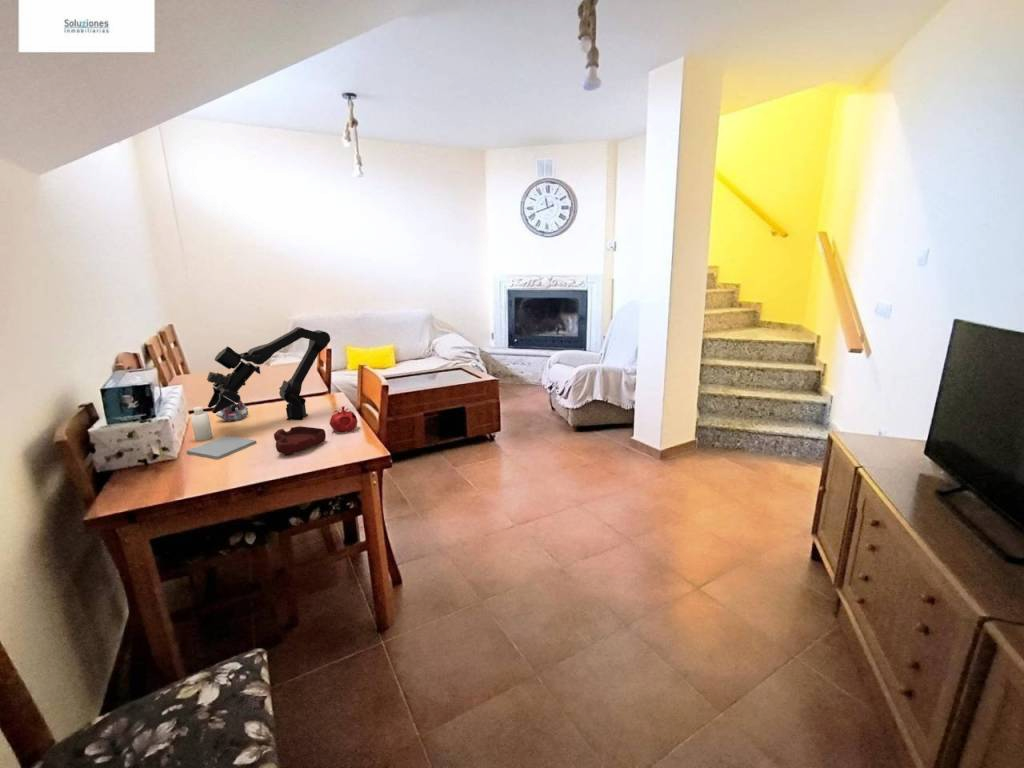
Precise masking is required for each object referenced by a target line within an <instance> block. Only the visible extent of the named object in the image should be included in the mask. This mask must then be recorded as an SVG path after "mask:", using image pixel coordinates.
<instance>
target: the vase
mask: <svg viewBox="0 0 1024 768" xmlns="http://www.w3.org/2000/svg"><path fill="white" fill-rule="evenodd" d="M190 420H191V425H192V429H193V433H194V434H193V435H194V439H195V441H196V442H201V441H203V442H204V441H207V440H210V439H212V438H213V437H214V435H213V432H212V426H211V420H210V415H209V412H208V411H204V407H203V406H202V405H201V406H200V405H198V406H195V407H193V413H192V414H190Z"/></svg>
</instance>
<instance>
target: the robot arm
mask: <svg viewBox="0 0 1024 768" xmlns="http://www.w3.org/2000/svg"><path fill="white" fill-rule="evenodd" d="M300 339H306V340H308V346H307V347H308V348H307V349H306V351H305V353H304V355H303V357H302V358H301V361H300V362H299V364H298V365H297V368H295V371H294V373H293V375H292V376H291V378H290V379H289V380H288V381H287V380H283V381H282V384H281V386H280V387H278V389H279V393H278V394H279V397H280V398H281V399H282V400H284V401H285V402H286V403H287V404H286V408H285V410H286V416H287V417H286V421H301V420H304V419H305V418H306V417H307V416H309V413H307V409H306V398H304V397H303V396H301V392H302V385H303V382H304V381H305V379H306V377H307V375H308V373H309V372H310V369H311V367H312V366H313V364H314V363H315V361H316V359H317V357H318V356H319V354H320V353H321V352H322V351H323V350H325V348H326V347H327V346H328V345H329V344H330V342H331V336H330V334H329V333H328V332H327V331H323V330H320V329H319V330H318V329H317V330H310V329H306V328H304V327H301V326H297V327H295V328H294V329H293V330H290V331H288V332H286V333H284V334H283V335H281V336H280V337H277V338H275V339H274V340H272V341H270V342H269V343H265V344H261V345H258V346H255V347H252V348H250V349H248V351H246V352H241V353H238V352H236V351H235V350H233V349H232V348H231V347H230V346H229V345H228V346H226V347H225V348H223V349H222V350H221V351H218V353H217V355H216V356H215V357H214V361H215V362H217V363H218V364H220V365H222V366H223V367H224V368H226V369H228V370H231V369H233V371H232V372H231V373H227V374H226V375H225V374H224V373H219V372H213V371H209V372H208V375H207V377H206V380H207V382H209V383H213V384H212V390H213V394H212V395H211V398H210V400H209V401H208V404H207V407H208V408H210V409H211V408H213V409H212V410H211V413H212V414H215V415H216V413H217V414H218V413H219V412H221V410H223V409H225V408H227V407H229V406H231V405H233V404H238V402H239V401H240V400H241V395H240V394H239V391H240V389H241V388H243V386H244V387H245V386H246V384H247V383H246V382H247V381H248V380H249V379H250V378H251V376H252V375H253V374H254V372H255V373H256V374H259V375H261V369H260V368H261V367H260V365H263V364H264V363H266V362H267V361H268V360H269V359H271V358H272V356H273V355H274V354H276V353H277V352H279V351H281V350H282V349H284V348H286V347H288V346H289V345H291V344H293V343H294V342H295V343H296V342H297V341H298V340H300ZM246 362H247V363H246ZM252 363H253V364H252ZM255 365H256V366H255Z"/></svg>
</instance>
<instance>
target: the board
mask: <svg viewBox="0 0 1024 768" xmlns="http://www.w3.org/2000/svg"><path fill="white" fill-rule="evenodd" d="M256 444H257V440H256V439H255V440H254V439H249V438H243V437H237V436H233V435H224V436H221V437H218V438H216V439H214V440H213V439H212V440H211V441H208V442H206V443H203V444H201V445H197V446H195V447H192V448H190V449H187V450H186V451H185V452H186V454H188V455H193V456H198V457H204V458H209V459H214V460H220V459H222V458H224V457H227V456H230V455H232V454H234V453H237V452H238V451H241V450H243V449H246V448H248V447H251V446H253V445H256Z"/></svg>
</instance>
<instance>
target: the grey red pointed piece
mask: <svg viewBox="0 0 1024 768" xmlns="http://www.w3.org/2000/svg"><path fill="white" fill-rule="evenodd" d="M248 409H249V408H248V407H246V404H245V403H244V404H243V401H242V400H241V399H240V401H239V402H238V403H235V404H233V405H231V406H229V407H227V408H225V409H223V410H221V411H220V412H221V413H217V414H215V416H216V417H218V418H220V419H221V420H223V421H224V422H231V421H230V420H238V421H242V420H244V419H245V418H244V417H246V416H247V415H248V416H249V411H248ZM248 416H247V417H248ZM247 417H246V418H247ZM241 419H242V420H241Z"/></svg>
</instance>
